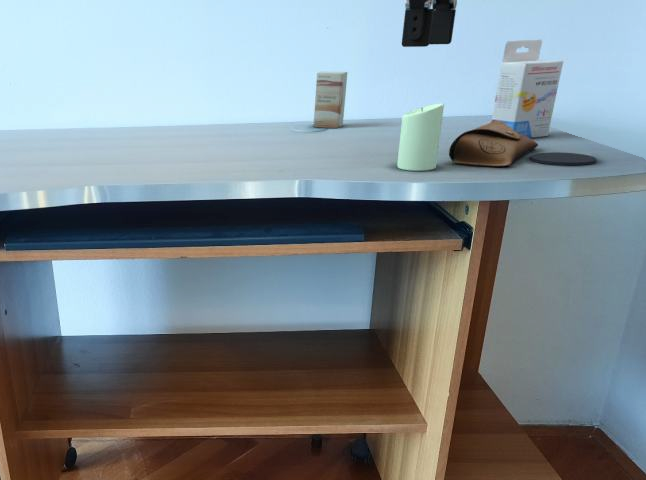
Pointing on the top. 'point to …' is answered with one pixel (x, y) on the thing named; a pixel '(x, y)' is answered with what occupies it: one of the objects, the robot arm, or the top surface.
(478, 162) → the sunglasses case
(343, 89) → the cream medicine box
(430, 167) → the candle
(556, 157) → the coaster
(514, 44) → the ink box
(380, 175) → the top surface
